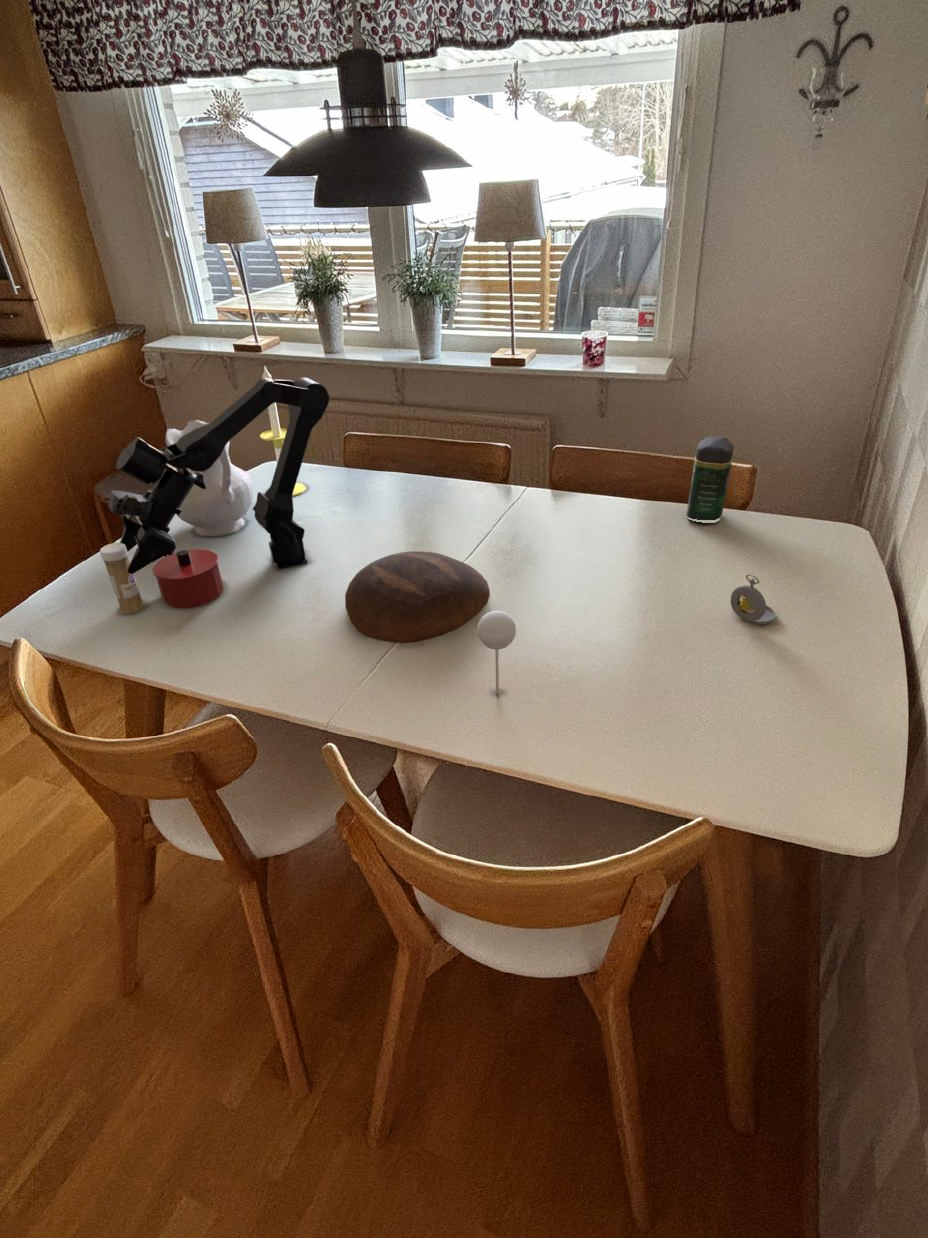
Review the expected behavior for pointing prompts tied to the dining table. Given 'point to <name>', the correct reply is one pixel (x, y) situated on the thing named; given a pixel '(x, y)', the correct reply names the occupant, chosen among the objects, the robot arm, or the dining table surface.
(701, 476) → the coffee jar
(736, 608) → the pocket watch
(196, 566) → the pot lid
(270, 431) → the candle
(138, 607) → the sprinkles bottle
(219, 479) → the ceramic pitcher
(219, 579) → the pot
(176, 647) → the dining table surface
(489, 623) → the lollipop
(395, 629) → the bread
